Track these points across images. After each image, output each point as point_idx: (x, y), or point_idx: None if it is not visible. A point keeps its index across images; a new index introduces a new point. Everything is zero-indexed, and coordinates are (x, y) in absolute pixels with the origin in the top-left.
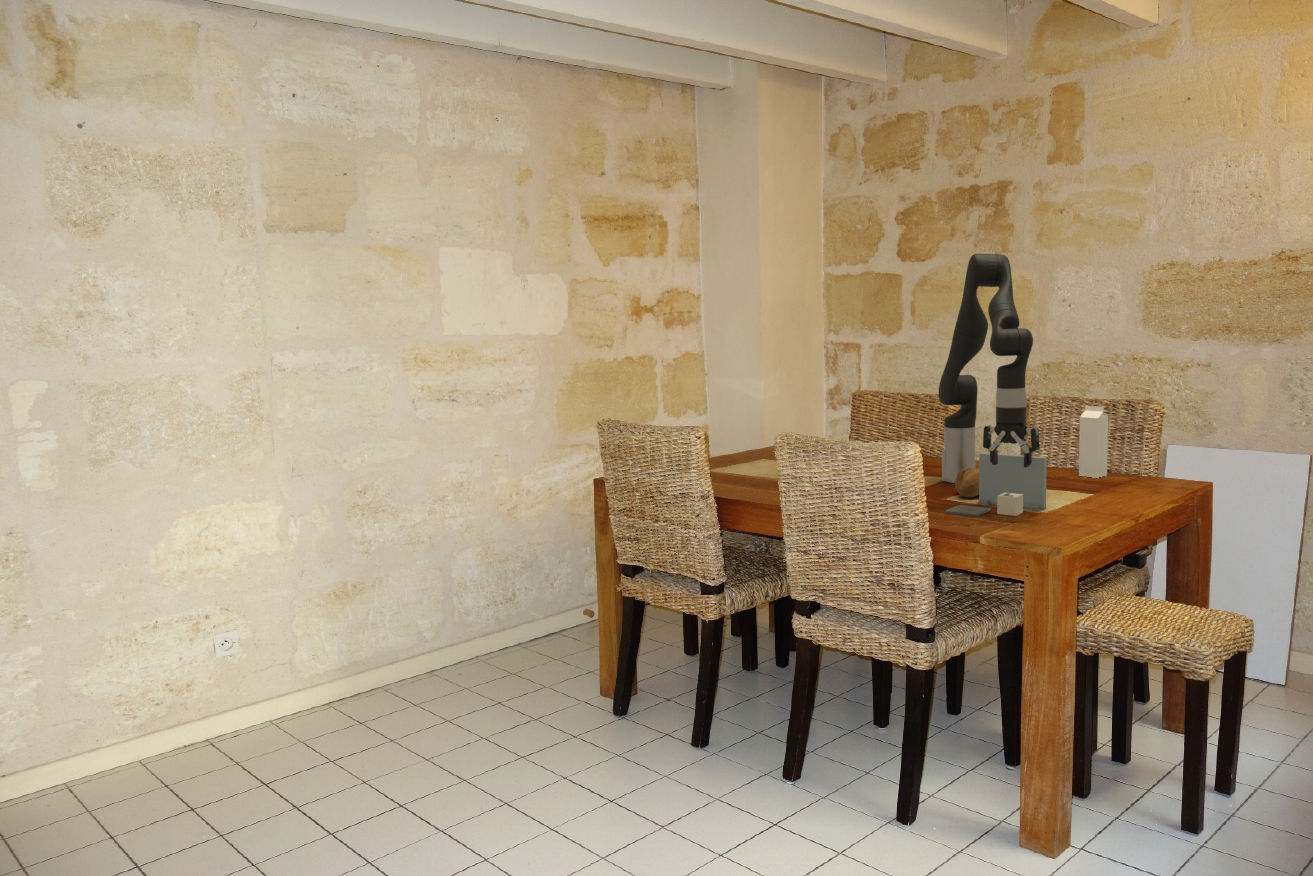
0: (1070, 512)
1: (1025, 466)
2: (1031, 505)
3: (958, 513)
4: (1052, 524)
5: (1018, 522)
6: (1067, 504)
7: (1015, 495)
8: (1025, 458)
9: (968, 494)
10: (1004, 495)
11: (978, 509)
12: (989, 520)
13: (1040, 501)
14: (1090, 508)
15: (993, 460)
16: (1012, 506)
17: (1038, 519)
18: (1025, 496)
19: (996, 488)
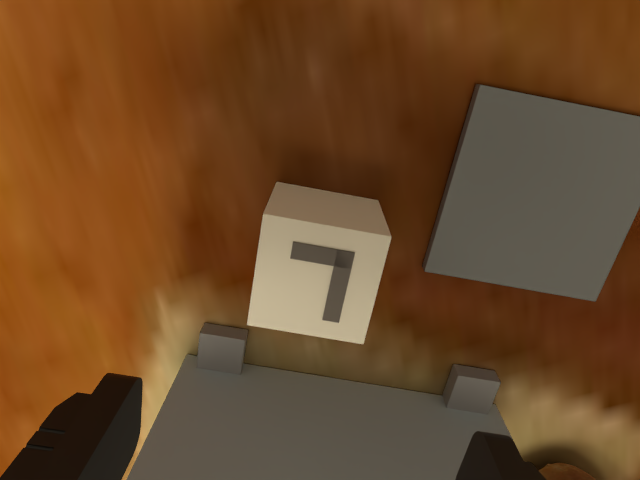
0: (62, 334)
1: (120, 377)
2: (238, 358)
3: (591, 108)
4: (35, 25)
5: (223, 11)
6: (128, 468)
7: (281, 278)
8: (66, 451)
9: (560, 469)
10: (346, 250)
11: (484, 222)
12: (393, 7)
13: (193, 381)
14: (19, 427)
15: (510, 467)
16: (291, 199)
17: (145, 133)
18: (268, 407)
19: (429, 454)
